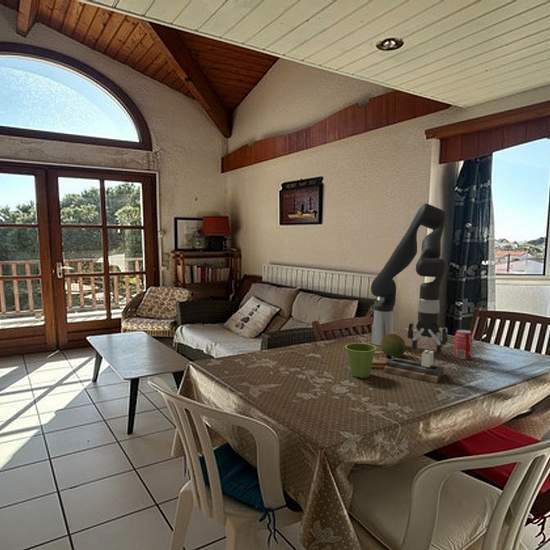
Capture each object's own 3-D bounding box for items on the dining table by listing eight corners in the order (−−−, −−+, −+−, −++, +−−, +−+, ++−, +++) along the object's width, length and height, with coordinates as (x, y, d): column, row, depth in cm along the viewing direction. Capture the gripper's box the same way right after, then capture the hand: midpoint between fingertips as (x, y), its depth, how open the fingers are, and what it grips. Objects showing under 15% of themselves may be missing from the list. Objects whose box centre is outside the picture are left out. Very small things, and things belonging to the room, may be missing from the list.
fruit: (396, 351, 185) (397, 330, 184) (413, 359, 173) (414, 337, 172) (374, 354, 181) (375, 332, 180) (390, 362, 169) (391, 339, 168)
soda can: (467, 355, 179) (469, 329, 177) (474, 360, 172) (475, 333, 170) (451, 355, 179) (452, 329, 178) (457, 359, 172) (458, 332, 171)
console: (383, 372, 157) (383, 362, 156) (394, 364, 166) (394, 355, 166) (435, 383, 145) (436, 373, 144) (444, 374, 154) (445, 364, 154)
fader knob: (421, 370, 151) (421, 352, 151) (425, 367, 155) (425, 349, 155) (429, 372, 150) (429, 353, 149) (432, 368, 154) (433, 350, 153)
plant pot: (355, 368, 162) (356, 341, 161) (381, 375, 153) (382, 346, 152) (338, 375, 153) (338, 346, 152) (364, 383, 145) (365, 353, 144)
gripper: (406, 309, 151) (404, 350, 153) (445, 314, 143) (443, 358, 145) (413, 306, 157) (411, 346, 159) (451, 311, 149) (448, 353, 151)
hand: (426, 351), depth 152 cm, fingers open, 8 cm apart
